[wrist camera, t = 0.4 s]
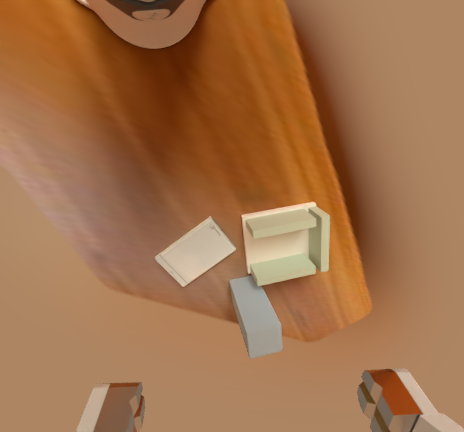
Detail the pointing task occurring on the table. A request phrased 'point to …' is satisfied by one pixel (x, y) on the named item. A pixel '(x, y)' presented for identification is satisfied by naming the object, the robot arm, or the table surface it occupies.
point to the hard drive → (196, 252)
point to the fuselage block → (256, 317)
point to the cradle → (286, 242)
